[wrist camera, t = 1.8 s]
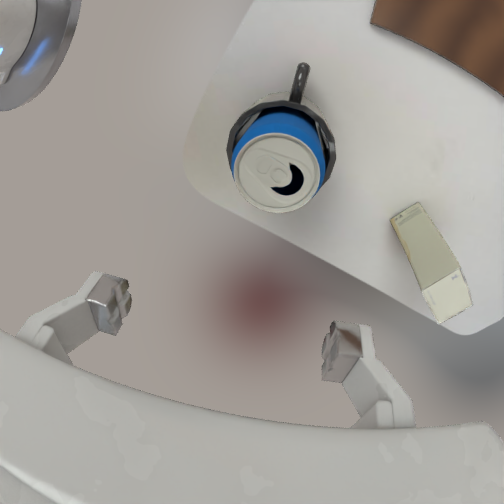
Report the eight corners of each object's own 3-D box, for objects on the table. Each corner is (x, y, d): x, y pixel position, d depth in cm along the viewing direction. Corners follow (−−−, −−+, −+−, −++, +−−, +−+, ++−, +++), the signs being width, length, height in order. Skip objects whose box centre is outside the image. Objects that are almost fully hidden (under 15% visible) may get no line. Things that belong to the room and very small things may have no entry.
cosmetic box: (388, 218, 33) (418, 289, 23) (419, 199, 31) (461, 264, 21) (409, 254, 35) (437, 327, 25) (438, 237, 33) (474, 306, 23)
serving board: (369, 23, 21) (371, 22, 20) (395, -85, 11) (396, -88, 11) (517, 107, 21) (521, 109, 20) (538, 6, 11) (541, 6, 11)
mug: (313, 180, 32) (316, 213, 26) (236, 160, 32) (219, 187, 26) (346, 76, 25) (361, 80, 19) (260, 52, 24) (247, 49, 18)
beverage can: (293, 174, 31) (288, 234, 22) (241, 141, 30) (210, 186, 20) (330, 127, 28) (347, 166, 18) (275, 90, 26) (260, 106, 17)
